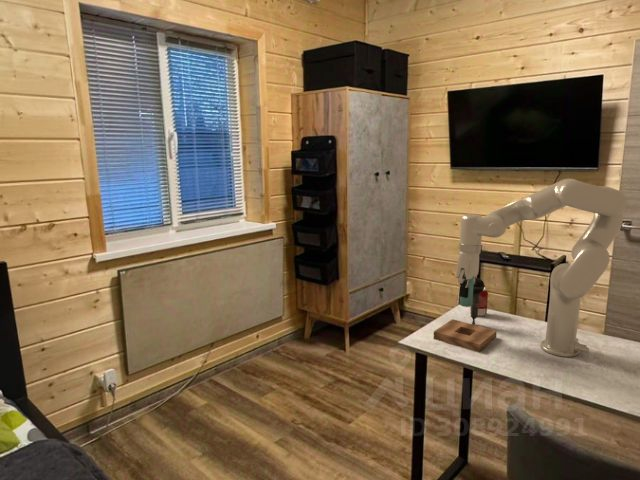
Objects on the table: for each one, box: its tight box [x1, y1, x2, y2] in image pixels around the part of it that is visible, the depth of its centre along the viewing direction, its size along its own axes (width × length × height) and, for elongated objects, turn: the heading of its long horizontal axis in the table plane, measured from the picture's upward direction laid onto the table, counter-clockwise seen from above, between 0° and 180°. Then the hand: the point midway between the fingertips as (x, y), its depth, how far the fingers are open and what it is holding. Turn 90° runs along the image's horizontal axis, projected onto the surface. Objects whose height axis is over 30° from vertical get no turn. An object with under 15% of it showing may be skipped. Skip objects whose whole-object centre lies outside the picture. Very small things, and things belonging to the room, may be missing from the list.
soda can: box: [469, 287, 489, 318], centre depth 196 cm, size 7×7×12 cm
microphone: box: [470, 277, 486, 325], centre depth 185 cm, size 7×7×20 cm
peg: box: [459, 276, 474, 308], centre depth 170 cm, size 4×4×12 cm
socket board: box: [433, 318, 498, 353], centre depth 174 cm, size 18×16×3 cm
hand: (466, 294), depth 170 cm, fingers closed on peg, 4 cm apart
